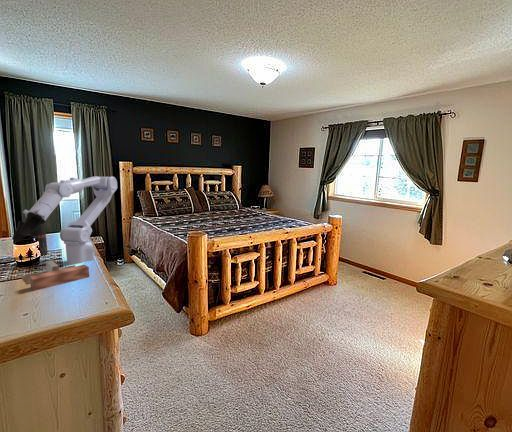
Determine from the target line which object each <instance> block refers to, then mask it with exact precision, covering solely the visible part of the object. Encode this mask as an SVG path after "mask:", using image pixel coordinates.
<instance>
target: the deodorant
mask: <svg viewBox="0 0 512 432" xmlns="http://www.w3.org/2000/svg"><path fill="white" fill-rule="evenodd" d="M36 228H37V229H36V230H35V231H33V232H31V233H29V234H28V236H31V237H34V238H36V239H37V240H38V241H39V248H40V253H41V256H43V255H47V254H48V243H47V233H46V222H45V223H44V224H41V225H40V226H38V227H36ZM47 256H48V255H47ZM43 257H44V256H43Z"/></svg>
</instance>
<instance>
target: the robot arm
mask: <svg viewBox="0 0 512 432" xmlns="http://www.w3.org/2000/svg"><path fill="white" fill-rule="evenodd" d="M89 187H92V191H93V193H94V196H95V199H94V200H93V201H92V202H91V203H90V204H89V205H88V207H87V208H86V209H85V210H84V212H83V213H82V214H81V215H80V216H79V218H78V219H77V220H75V221H73V222H70V223H69V224H67V225H66V226H65V227H63V228H61V230H60V231H59V239H60V240H61V241H62V242H63V244H65V253H66V263H67V264H69V265H76V264H78V265H79V264H83V263H86V262H91V261H95V254H94V246H93V242H92V241H90V237H91V234H92V232H93V229H92V227H91V226H92V225H93V224H94V222H95V221H96V220H97V218H98V217H99V216H100V214H101V213H102V212H103V211H104V210H105V208H106V207H107V206H108V204H109V203H110V201H111V199H112V197H113V195H114V194H115V192H116V191H117V189H118V181H117V178H116V177H115V176H99V175H98V176H97V175H95V176H90V177H87V178H83V179H79V178H76V177H69V179H66V180H65V179H64V180H63V179H62V180H60V181H59V182H55V181H53V182H50V183H48V184H46V186H45V188H44V189H45V190H44V192H43V193H42V195H41V197H40V198H39V199H38V200H37V201H36V202H35V203H34V204H33V206H32V207H31V208H30V209H29V210H28V209H24V210H23V211H22V213H23V214H24V215H25V221H21V220H18V223H17V227H16V230H15V232H14V233H13V236H12V240H13V241H15V242H17V243H20V242H21V241H22V240H23V239H24V238H25V237H27V236H29V233H31V232H33V231H35V230H36V229H37V228H36V227H38V226H40V225H41V224H44V223H45V224H46V222H47V221H46V220H47V219H48V218H49V216H50V215H51V214H52V212H53V211H54V210H55V209H56V208H57V207H58V205H59V204H60V203H61V201H62V200H63V199H64V198H69V197H70V196H71V195H73V194H77V193H80V192H83V190H84V189H85V188H89Z"/></svg>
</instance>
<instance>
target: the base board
mask: <svg viewBox="0 0 512 432" xmlns="http://www.w3.org/2000/svg"><path fill="white" fill-rule="evenodd" d="M76 266H77V265H76V264H72V265H70V266H65V267H64V266H63V267H59V268H60V269H61V270H62V269H66V268H71V267H76ZM39 274H43V271H41V272H40V271H39V272H35V273H31V274H25V275H20V278H21V280H23V282H24V283H25V284H26V285H31V283H30V276H34V275H39Z"/></svg>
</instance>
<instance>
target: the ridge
mask: <svg viewBox="0 0 512 432" xmlns="http://www.w3.org/2000/svg"><path fill="white" fill-rule="evenodd" d="M60 268H61V267H59V264H57V263H55V262H54V261H53V260H47V261H45V266H43V267H42V272H43V273H48V272H53V271H57V270H61V269H60Z"/></svg>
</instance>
